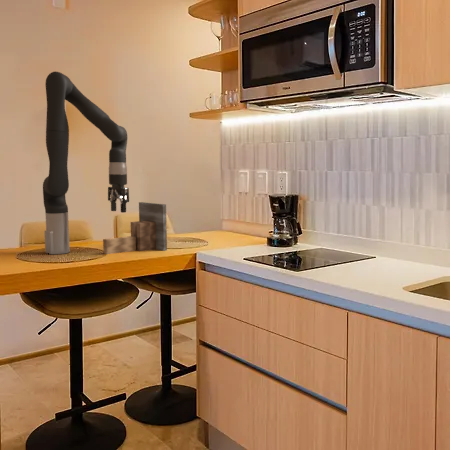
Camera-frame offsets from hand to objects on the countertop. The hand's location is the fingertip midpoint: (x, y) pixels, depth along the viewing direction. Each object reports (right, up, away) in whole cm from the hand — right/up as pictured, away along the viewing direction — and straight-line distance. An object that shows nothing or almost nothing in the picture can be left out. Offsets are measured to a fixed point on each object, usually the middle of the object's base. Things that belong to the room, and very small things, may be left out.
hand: (118, 211), depth 229 cm
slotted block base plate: (+9, -16, +10) cm, 21 cm away
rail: (+2, -17, +3) cm, 17 cm away
